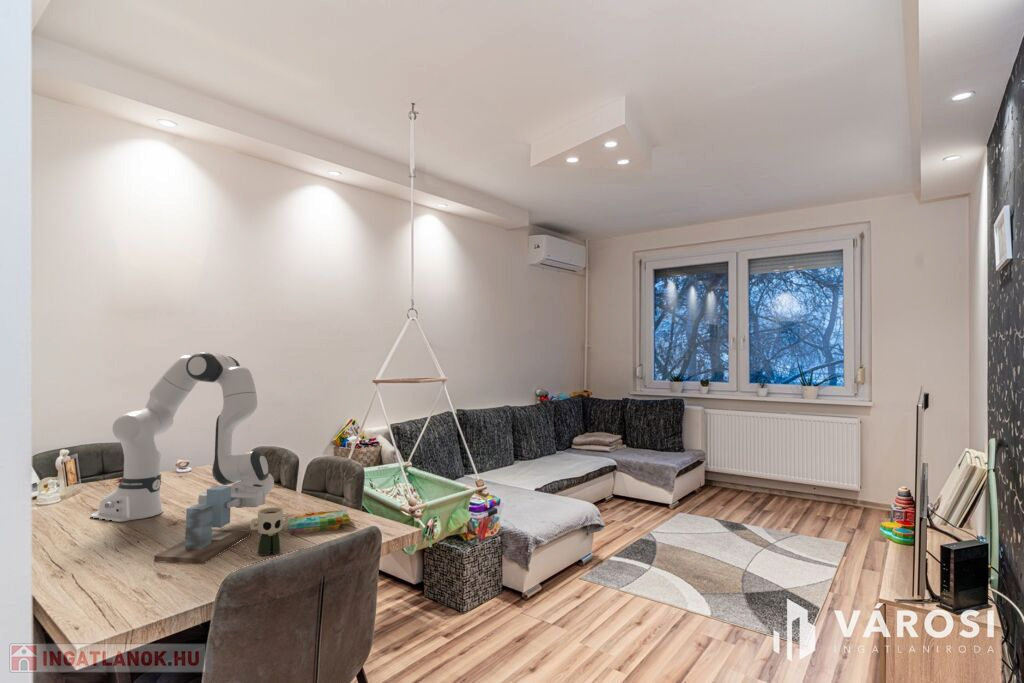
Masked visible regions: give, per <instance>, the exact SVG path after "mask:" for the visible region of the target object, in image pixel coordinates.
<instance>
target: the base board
mask: <svg viewBox="0 0 1024 683" xmlns="http://www.w3.org/2000/svg"><path fill="white" fill-rule="evenodd" d="M212 516H213V505H209V504H198V503H197V504H195V505H193V506H189V507H187V508H186V516H185V535H184V538H185V539H184V541H181V542H179V543H177V544H175V545H174V546H172V547H169V548H168V549H166V550H164V551H161V552H160V553H157V554H156V555H154V558H153V561H154V562H158V561H166V562H165V563H178V562H182V564H198V563H204V564H206V563H207V562H206V561H208V560H209V561H211V560H212V559H211V558H213V557H214V558H216V557H217V556H219V555H220V554H219V553H221V552H222V553H224V552H225V551H224V550H226V549H227V550H229V549H230V548H229V547H231V546H232V545H234V544H236V543H237V542H239V541H240V540H242V539H244V538H246V537H247V538H249V537H250V536H251V535H252V530H237V529H220V528H219V529H218V528H217V529H216V528H215V529H214V528H213V527H212ZM249 535H250V536H249ZM248 536H249V537H248ZM247 538H246V539H247ZM244 540H245V539H244ZM242 541H243V540H242ZM239 543H240V542H239ZM237 544H238V543H237ZM237 544H236V545H237ZM234 546H235V545H234ZM232 547H233V546H232ZM232 547H231V548H232ZM228 548H229V549H228ZM227 550H226V551H227ZM223 551H224V552H223ZM222 553H221V554H222ZM218 554H219V555H218ZM216 555H217V556H216ZM215 556H216V557H215ZM214 558H213V559H214ZM210 559H211V560H210ZM209 561H208V562H209ZM183 562H184V563H183ZM205 562H206V563H205Z"/></svg>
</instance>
